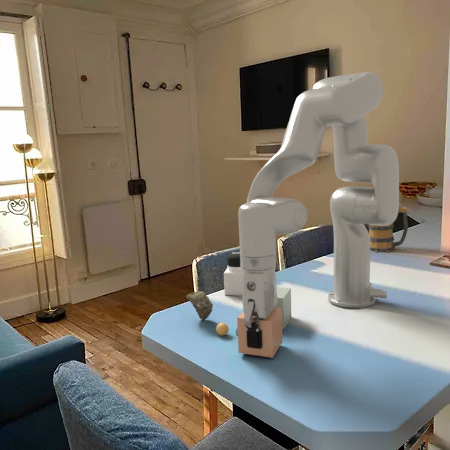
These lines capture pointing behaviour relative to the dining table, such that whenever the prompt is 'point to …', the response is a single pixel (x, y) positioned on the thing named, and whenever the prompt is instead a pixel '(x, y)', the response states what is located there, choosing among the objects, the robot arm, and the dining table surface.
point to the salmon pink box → (269, 334)
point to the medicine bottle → (233, 276)
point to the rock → (201, 304)
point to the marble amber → (222, 329)
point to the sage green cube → (284, 304)
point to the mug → (386, 235)
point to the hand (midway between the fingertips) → (260, 338)
